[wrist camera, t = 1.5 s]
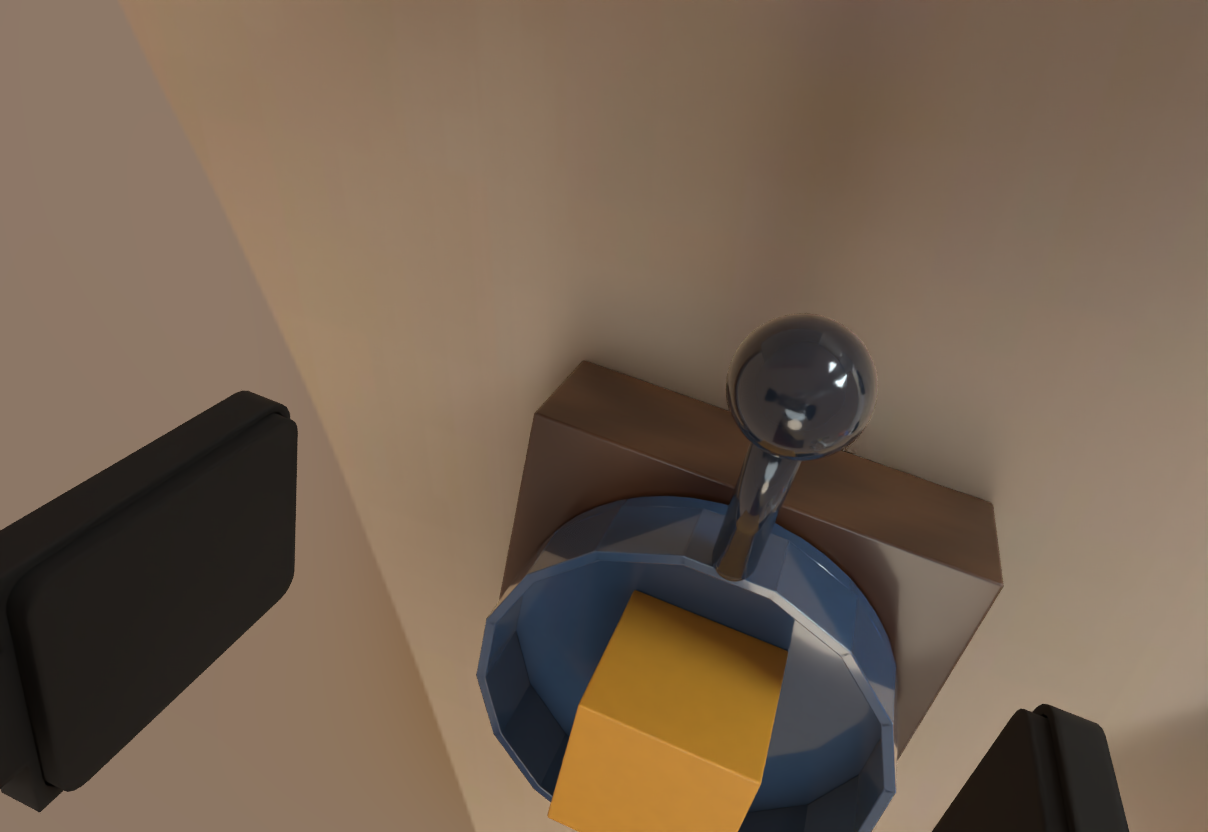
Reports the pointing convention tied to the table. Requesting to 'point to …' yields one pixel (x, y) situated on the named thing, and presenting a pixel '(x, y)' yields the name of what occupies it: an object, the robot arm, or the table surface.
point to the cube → (670, 726)
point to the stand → (811, 511)
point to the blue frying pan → (724, 595)
